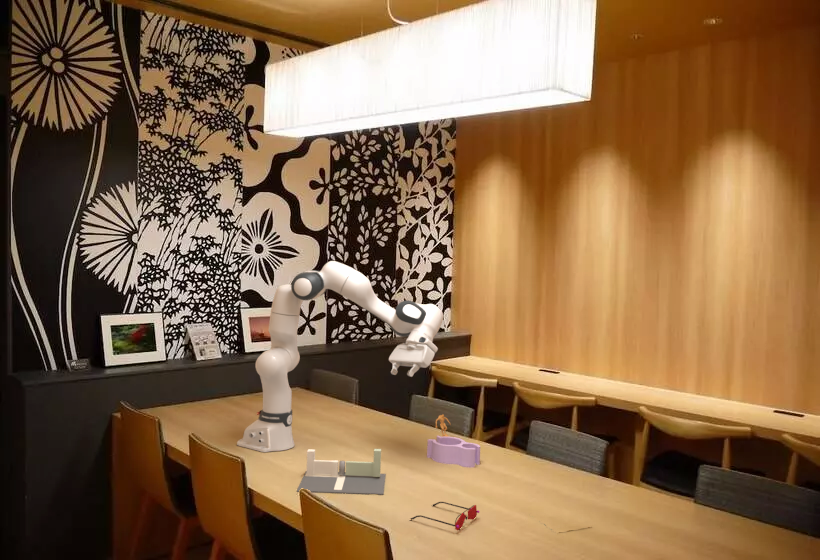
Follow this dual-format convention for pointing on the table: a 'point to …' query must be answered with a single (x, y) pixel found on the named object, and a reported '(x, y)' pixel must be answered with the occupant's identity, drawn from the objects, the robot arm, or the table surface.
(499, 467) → the table surface
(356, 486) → the board
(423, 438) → the table surface
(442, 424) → the figurine
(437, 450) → the lilac double-ring holder
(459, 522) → the glasses
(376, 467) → the gate
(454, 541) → the table surface
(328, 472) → the fixed fence
